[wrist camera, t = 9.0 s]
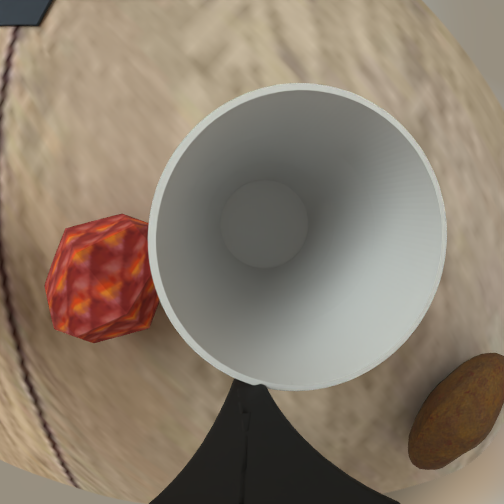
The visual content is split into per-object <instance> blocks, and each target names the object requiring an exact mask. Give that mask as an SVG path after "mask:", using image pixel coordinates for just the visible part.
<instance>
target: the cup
mask: <svg viewBox="0 0 504 504" xmlns="http://www.w3.org/2000/svg"><path fill="white" fill-rule="evenodd" d="M446 244H447V225H446V214H445V207H444V202H443V198H442V194H441V190H440V187H439V184H438V181H437V178H436V176H435V173H434V171H433V169H432V167H431V165H430V163H429V161H428V159H427V157H426V156H425V154H424V152H423V151H422V149H421V148H420V146H419V145H418V143H417V142H416V141H415V139H414V138H413V137H412V136H411V135H410V133H409V132H408V131H407V130H406V129H405V128H404V127H403V126H402V125H401V124H400V123H399V122H398V121H397V120H396V119H395V118H393V117H392V116H391V115H390V114H389V113H387V112H386V111H384V110H383V109H382V108H380V107H379V106H377V105H375V104H374V103H372V102H370V101H369V100H367V99H365V98H363V97H361V96H358V95H356V94H354V93H351V92H348V91H345V90H342V89H339V88H335V87H331V86H326V85H320V84H310V83H289V84H280V85H274V86H269V87H264V88H261V89H257V90H254V91H251V92H248V93H246V94H243V95H241V96H239V97H237V98H235V99H233V100H231V101H229V102H227V103H225V104H224V105H222V106H220V107H219V108H217V109H216V110H214V111H213V112H212V113H210V114H209V115H208V116H206V117H205V118H204V119H203V120H202V121H201V122H199V123H198V124H197V125H196V126H195V127H194V128H193V129H192V130H191V131H190V132H189V134H188V135H187V136H186V137H185V138H184V139H183V141H182V142H181V143H180V144H179V146H178V147H177V149H176V150H175V152H174V153H173V155H172V156H171V158H170V160H169V161H168V163H167V165H166V167H165V169H164V171H163V173H162V175H161V178H160V180H159V183H158V185H157V188H156V191H155V194H154V198H153V202H152V206H151V211H150V217H149V226H148V254H149V263H150V269H151V274H152V278H153V282H154V285H155V289H156V291H157V294H158V297H159V299H160V302H161V304H162V306H163V308H164V310H165V312H166V314H167V316H168V318H169V319H170V321H171V323H172V324H173V326H174V327H175V329H176V330H177V332H178V333H179V334H180V335H181V337H182V338H183V339H184V340H185V341H186V343H187V344H188V345H189V346H190V347H191V348H192V349H193V350H194V351H195V352H196V353H197V354H198V355H200V356H201V357H202V358H203V359H204V360H206V361H207V362H208V363H210V364H211V365H212V366H214V367H215V368H217V369H219V370H220V371H222V372H224V373H226V374H227V375H229V376H231V377H233V378H236V379H238V380H240V381H243V382H246V383H248V384H252V385H257V384H263V385H265V386H266V387H267V388H268V389H274V390H282V391H306V390H315V389H321V388H326V387H330V386H334V385H337V384H341V383H344V382H346V381H349V380H351V379H354V378H356V377H358V376H360V375H362V374H364V373H366V372H368V371H369V370H371V369H373V368H374V367H376V366H377V365H379V364H380V363H382V362H383V361H384V360H386V359H387V358H388V357H389V356H391V355H392V354H393V353H394V352H395V351H396V350H397V349H398V348H399V347H400V346H401V345H402V344H403V343H404V342H405V341H406V340H407V339H408V338H409V337H410V335H411V334H412V333H413V332H414V330H415V329H416V328H417V326H418V325H419V323H420V322H421V320H422V319H423V317H424V315H425V314H426V312H427V310H428V308H429V306H430V304H431V302H432V300H433V298H434V296H435V293H436V291H437V288H438V285H439V282H440V279H441V275H442V271H443V267H444V261H445V255H446Z"/></svg>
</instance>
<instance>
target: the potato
mask: <svg viewBox="0 0 504 504" xmlns="http://www.w3.org/2000/svg"><path fill="white" fill-rule="evenodd" d="M503 403H504V356H502V355H500V354H497V353H486V354H481V355H478V356H476V357H473V358H472V359H470V360H468V361H466V362H464V363H463V364H462V365H460V366H459V367H458V368H457V369H455V370H454V371H453V372H452V373H451V374H450V375H449V376H448V377H447V378H446V379H444V380H443V381H442V382H441V383H440V384H438V386H437V387H436V388H435V389H434V390H433V391H432V392H431V394H430V395H429V396H428V398H427V399H426V401H425V402H424V404H423V406H422V408H421V409H420V411H419V413H418V415H417V417H416V419H415V421H414V424H413V426H412V429H411V432H410V435H409V441H408V453H409V458H410V460H411V462H412V464H414V465H415V466H416V467H418V468H419V469H425V470H437V469H440V468H443V467H444V466H446V465H447V464H449V463H450V462H452V461H453V460H455V459H456V458H458V457H459V456H461V455H462V454H464V453H466V452H467V451H469V450H471V449H473V448H475V447H476V446H477V445H478V444H480V443H481V442H482V441H483V440H484V439H485V438H486V436H487V435H488V434H489V432H490V431H491V429H492V427H493V425H494V423H495V421H496V419H497V417H498V415H499V413H500V411H501V408H502V405H503Z"/></svg>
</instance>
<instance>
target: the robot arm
mask: <svg viewBox="0 0 504 504" xmlns="http://www.w3.org/2000/svg"><path fill="white" fill-rule="evenodd" d="M149 504H400V503H399V502H397V501H395V500H393V499H391V498H389V497H387V496H384V495H382V494H380V493H378V492H377V491H375V490H373V489H371V488H369V487H367V486H365V485H364V484H362V483H360V482H359V481H357V480H355V479H354V478H352V477H351V476H349V475H348V474H346V473H345V472H343V471H342V470H341V469H339V468H338V467H337V466H335V465H334V464H332V463H331V462H330V461H328V460H327V459H326V458H325V457H323V456H322V455H321V454H320V453H319V452H318V451H317V450H315V449H314V448H313V447H312V446H311V445H310V444H309V443H308V442H307V441H306V440H305V439H304V438H303V437H302V436H301V435H300V434H299V433H298V432H297V431H296V429H295V428H294V427H293V426H292V425H291V424H290V422H289V421H288V420H287V419H286V417H285V416H284V415H283V413H282V412H281V410H280V409H279V408H278V406H277V405H276V403H275V402H274V400H273V398H272V397H271V395H270V393H269V391H268V389H267V387H266V386H265V385H263V384H257V385H252V384H248V383H246V382H243V381H240V380H238V379H236V378H235V379H234V380H233V383H232V386H231V388H230V391H229V393H228V395H227V398H226V400H225V402H224V404H223V406H222V408H221V410H220V412H219V414H218V416H217V418H216V420H215V422H214V424H213V426H212V428H211V429H210V431H209V433H208V434H207V436H206V438H205V439H204V441H203V443H202V444H201V446H200V447H199V449H198V450H197V452H196V453H195V454H194V456H193V457H192V458H191V460H190V461H189V462H188V464H187V465H186V466H185V467H184V469H183V470H182V471H181V472H180V473H179V474H178V475H177V477H176V478H175V479H174V480H173V481H172V482H171V483H170V484H169V485H168V486H167V487H166V488H165V489H164V490H163V491H162V492H161V493H160V494H159V495H158V496H157V497H156V498H155V499H153V500H152V501H151V502H150V503H149Z"/></svg>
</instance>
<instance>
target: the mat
mask: <svg viewBox="0 0 504 504" xmlns="http://www.w3.org/2000/svg"><path fill="white" fill-rule="evenodd" d="M51 2H52V0H0V26H39V24H40V22H41V20H42V18H43V16H44V15H45V13H46V11H47V9H48V7H49V6H50V4H51Z"/></svg>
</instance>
